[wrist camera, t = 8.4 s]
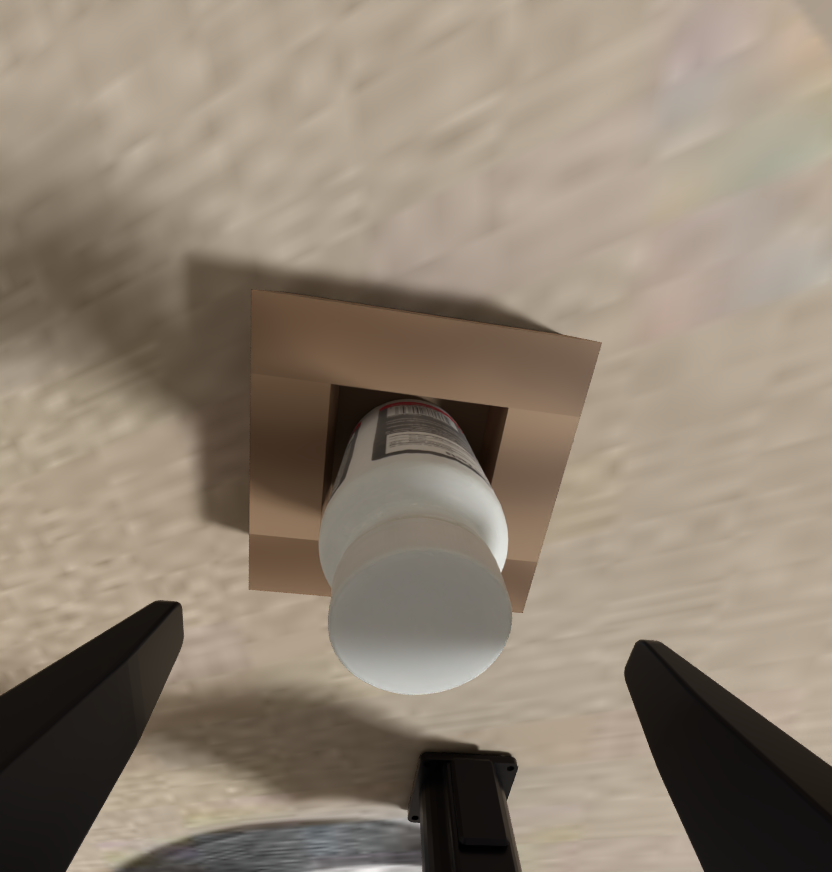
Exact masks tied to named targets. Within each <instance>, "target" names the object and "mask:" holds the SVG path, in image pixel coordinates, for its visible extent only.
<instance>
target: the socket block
mask: <svg viewBox="0 0 832 872" xmlns="http://www.w3.org/2000/svg"><path fill="white" fill-rule="evenodd" d="M601 344H602V343H601V342H596V341H591V340H587V339H582V338H577V337H572V336H567V335H562V334H556V333H549V332H543V331H536V330H530V329H523V328H516V327H510V326H503V325H497V324H490V323H484V322H477V321H471V320H464V319H457V318H451V317H444V316H438V315H431V314H425V313H418V312H412V311H405V310H398V309H392V308H385V307H379V306H372V305H366V304H359V303H353V302H346V301H339V300H333V299H326V298H320V297H313V296H307V295H300V294H294V293H287V292H279V291H266V290H253V289H251V398H250V509H249V590H260V591H272V592H284V593H295V594H307V595H319V596H330V597H331V596H332V595H331V589H332V588H331V587H330V585H329V583H328V581H327V579H326V577H325V575H324V573H323V569H322V566H321V562H320V557H319V534H320V527H321V521H322V518H323V515H324V512H325V509H326V506H327V504H328V501H329V498H330V496H331V493H332V490H333V487H334V484H335V481H336V478H337V475H338V472H339V469H340V466H341V462H342V460H343V456H344V453H345V449H346V446H347V444H348V441H349V438H350V436H351V434H352V432H353V430H354V428H355V427H356V425H357V424H358V422H359V421H360V420H361V419H362V418H363V417H364V416H365V415H366V414H367V413H369V412H370V411H371V410H373V409H374V408H376V407H378V406H380V405H382V404H384V403H387V402H390V401H394V400H400V399H415V400H422V401H426V402H429V403H432V404H434V405H436V406H438V407H440V408H441V409H443V410H444V411H446V412H447V413H448V414H449V415H450V416H451V417H452V418H453V419H454V420H455V421H456V422H457V424H458V425H459V427H460V428H461V430H462V431H463V433H464V435H465V437H466V439H467V441H468V443H469V445H470V447H471V449H472V451H473V453H474V455H475V457H476V459H477V460H478V462H479V464H480V467H481V468H482V470H483V472H484V474H485V476H486V478H487V479H488V481H489V483H490V485H491V487H492V489H493V490H494V493H495V495H496V497H497V499H498V500H499V502H500V504H501V507H502V510H503V513H504V516H505V520H506V524H507V530H508V550H507V557H506V560H505V564H504V567H503V569H502V572H501V574H502V577H503V580H504V583H505V586H506V589H507V592H508V595H509V598H510V602H511V607H512V612H517V613H523V610H524V607H525V603H526V600H527V596H528V593H529V590H530V586H531V583H532V579H533V576H534V573H535V569H536V566H537V562H538V559H539V555H540V552H541V549H542V545H543V542H544V538H545V535H546V532H547V528H548V525H549V521H550V518H551V515H552V511H553V508H554V504H555V501H556V498H557V494H558V491H559V487H560V484H561V481H562V477H563V474H564V470H565V467H566V464H567V460H568V457H569V453H570V450H571V446H572V443H573V440H574V436H575V433H576V429H577V426H578V423H579V419H580V416H581V412H582V409H583V406H584V402H585V399H586V395H587V392H588V389H589V385H590V382H591V378H592V375H593V372H594V368H595V365H596V361H597V358H598V354H599V351H600V348H601Z"/></svg>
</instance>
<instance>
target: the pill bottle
mask: <svg viewBox="0 0 832 872" xmlns="http://www.w3.org/2000/svg"><path fill="white" fill-rule="evenodd" d="M507 550H508V530H507V524H506V520H505V516H504V513H503V510H502V507H501V504H500V502H499V500H498V499H497V497H496V495H495V493H494V490H493V489H492V487H491V485H490V483H489V481H488V479H487V478H486V476H485V474H484V472H483V470H482V468H481V467H480V464H479V462H478V460H477V459H476V457H475V455H474V453H473V451H472V449H471V447H470V445H469V443H468V441H467V439H466V437H465V435H464V433H463V431H462V430H461V428H460V427H459V425H458V424H457V422H456V421H455V420H454V419H453V418H452V417H451V416H450V415H449V414H448V413H447V412H446V411H444V410H443V409H441V408H440V407H438V406H436V405H434V404H432V403H429V402H426V401H422V400H415V399H400V400H394V401H390V402H387V403H384V404H382V405H380V406H378V407H376V408H374V409H373V410H371V411H370V412H369V413H367V414H366V415H365V416H364V417H363V418H362V419H361V420H360V421H359V422H358V424H357V425H356V427H355V428H354V430H353V432H352V434H351V436H350V438H349V441H348V444H347V446H346V449H345V453H344V456H343V460H342V462H341V466H340V469H339V472H338V475H337V478H336V481H335V484H334V487H333V490H332V493H331V496H330V498H329V501H328V504H327V506H326V509H325V512H324V515H323V518H322V521H321V527H320V534H319V557H320V562H321V566H322V569H323V573H324V575H325V577H326V579H327V581H328V583H329V585H330V587H331V588H332V589H331V595H332V596H331V602H330V607H329V615H328V631H329V638H330V642H331V644H332V647H333V649H334V652H335V654H336V655H337V657H338V658H339V660H340V661H341V662H342V664H343V665H344V666H345V667H346V668H347V669H348V670H349V671H350V672H351V673H352V674H353V675H355V676H356V677H357V678H359V679H361V680H362V681H364V682H366V683H368V684H370V685H372V686H374V687H377V688H379V689H382V690H386V691H390V692H393V693H399V694H407V695H425V694H431V693H437V692H442V691H445V690H449V689H452V688H455V687H458V686H460V685H462V684H464V683H466V682H468V681H470V680H472V679H474V678H475V677H477V676H478V675H480V674H481V673H482V672H484V671H485V670H486V669H487V668H488V667H489V666H490V665H491V664H492V663H493V662H494V661H495V660H496V659H497V657H498V656H499V654H500V653H501V651H502V650H503V648H504V646H505V644H506V642H507V640H508V637H509V634H510V630H511V625H512V607H511V602H510V598H509V595H508V592H507V589H506V586H505V583H504V580H503V577H502V574H501V572H502V569H503V567H504V564H505V560H506V557H507Z"/></svg>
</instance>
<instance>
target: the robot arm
mask: <svg viewBox="0 0 832 872" xmlns="http://www.w3.org/2000/svg"><path fill="white" fill-rule="evenodd" d="M183 639H184V630H183V614H182V606H181V604H180V603H179V602H175V601H163V600H158V601H155V602H153V603H151V604H149V605H147V606H146V607H144V608H143V609H141V610H139V611H138V612H136V613H134V614H133V615H131V616H129V617H128V618H126V619H125V620H123V621H121V622H120V623H118V624H116V625H115V626H113V627H112V628H110V629H108V630H107V631H105V632H103V633H102V634H100V635H99V636H97V637H95V638H94V639H92V640H90V641H89V642H87V643H85V644H84V645H82V646H81V647H79V648H77V649H76V650H74V651H72V652H71V653H69V654H68V655H66V656H64V657H63V658H61V659H59V660H58V661H56V662H55V663H53V664H51V665H50V666H48V667H46V668H45V669H43V670H41V671H40V672H38V673H37V674H35V675H33V676H32V677H30V678H28V679H27V680H25V681H24V682H22V683H20V684H19V685H17V686H15V687H14V688H12V689H11V690H9V691H7V692H6V693H4V694H2V695H1V696H0V872H66V870H67V869H68V867H69V865H70V863H71V862H72V860H73V858H74V856H75V854H76V853H77V851H78V849H79V847H80V846H81V844H82V842H83V840H84V838H85V837H86V835H87V833H88V831H89V830H90V828H91V826H92V824H93V822H94V821H95V819H96V817H97V815H98V814H99V812H100V810H101V808H102V807H103V805H104V803H105V801H106V799H107V798H108V796H109V794H110V792H111V791H112V789H113V787H114V785H115V783H116V782H117V780H118V778H119V776H120V775H121V773H122V771H123V769H124V767H125V766H126V764H127V762H128V760H129V759H130V757H131V755H132V753H133V751H134V749H135V747H136V746H137V744H138V742H139V740H140V738H141V735H142V733H143V731H144V729H145V727H146V725H147V723H148V720H149V718H150V716H151V714H152V712H153V709H154V707H155V705H156V703H157V701H158V698H159V696H160V694H161V692H162V690H163V687H164V685H165V683H166V681H167V678H168V676H169V674H170V672H171V670H172V667H173V665H174V663H175V661H176V659H177V656H178V654H179V652H180V650H181V647H182V644H183ZM624 676H625V681H626V684H627V687H628V690H629V692H630V695H631V698H632V701H633V703H634V706H635V709H636V712H637V714H638V717H639V720H640V723H641V725H642V728H643V731H644V734H645V736H646V739H647V742H648V744H649V747H650V750H651V753H652V755H653V758H654V760H655V763H656V766H657V768H658V770H659V773H660V775H661V777H662V780H663V782H664V784H665V787H666V789H667V791H668V793H669V795H670V797H671V800H672V802H673V804H674V806H675V808H676V811H677V813H678V815H679V817H680V819H681V822H682V824H683V826H684V828H685V830H686V833H687V835H688V837H689V839H690V841H691V844H692V846H693V848H694V850H695V852H696V855H697V857H698V859H699V861H700V863H701V866H702V868H703V870H704V872H832V766H830V765H829V764H827V763H826V762H825V761H823V760H822V759H821V758H819V757H818V756H816V755H815V754H814V753H812V752H811V751H810V750H808V749H807V748H806V747H804V746H803V745H801V744H800V743H799V742H797V741H796V740H795V739H793V738H792V737H790V736H789V735H788V734H786V733H785V732H784V731H782V730H781V729H779V728H778V727H777V726H775V725H774V724H773V723H771V722H770V721H768V720H767V719H766V718H764V717H763V716H762V715H760V714H759V713H758V712H756V711H755V710H753V709H752V708H751V707H749V706H748V705H747V704H745V703H744V702H742V701H741V700H740V699H738V698H737V697H736V696H734V695H733V694H731V693H730V692H729V691H727V690H726V689H725V688H723V687H722V686H721V685H719V684H718V683H716V682H715V681H714V680H712V679H711V678H710V677H708V676H707V675H705V674H704V673H703V672H701V671H700V670H699V669H697V668H696V667H694V666H693V665H692V664H690V663H689V662H688V661H686V660H685V659H684V658H682V657H681V656H679V655H678V654H677V653H675V652H674V651H673V650H671V649H670V648H668V647H667V646H666V645H664V644H663V643H661V642H659V641H654V640H639V641H637V642H636V643H635V645H634V648H633V650H632V652H631V654H630V657H629V659H628V661H627V664H626V666H625V671H624ZM517 770H518V766H517V762H516V759H515V758H514V757H507V756H487V755H468V754H449V753H429V752H427V753H423V754H421V755H420V757H419V761H418V766H417V771H416V775H415V780H414V784H413V789H412V793H411V798H410V802H409V807H408V820H409V821H410V822H415V823H420V830H421V853H422V872H522V870H521V865H520V860H519V856H518V851H517V847H516V842H515V837H514V833H513V828H512V823H511V819H510V814H509V810H508V805H507V799H508V796H509V793H510V790H511V787H512V784H513V781H514V778H515V775H516V773H517Z"/></svg>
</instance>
